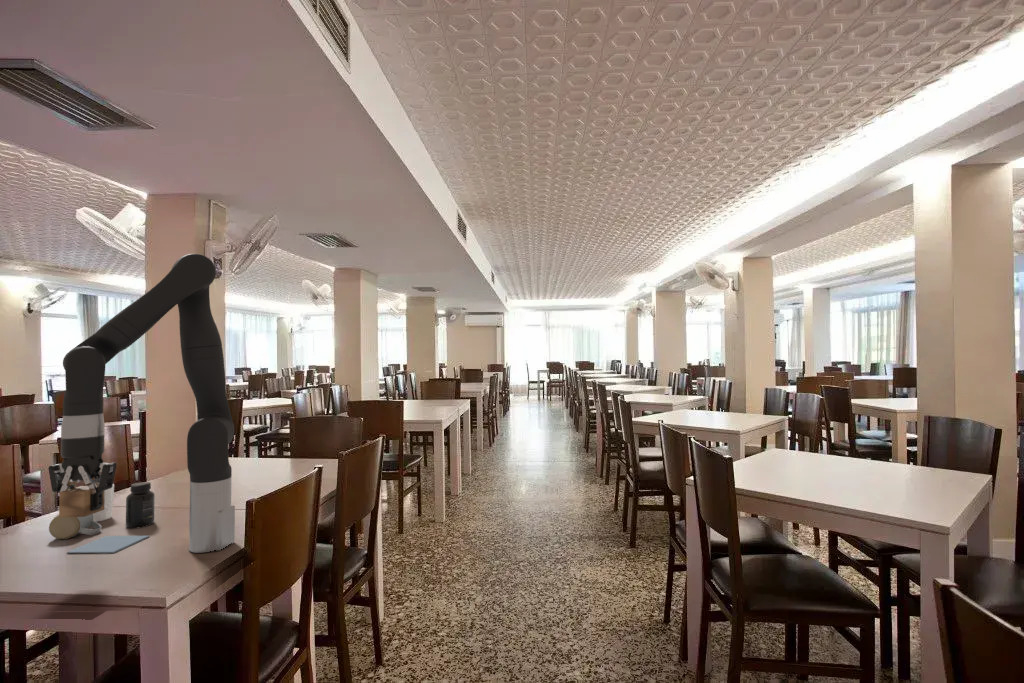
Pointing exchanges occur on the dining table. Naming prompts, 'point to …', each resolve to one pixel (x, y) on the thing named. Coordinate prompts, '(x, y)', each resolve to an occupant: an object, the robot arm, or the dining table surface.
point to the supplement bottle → (140, 505)
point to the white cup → (105, 506)
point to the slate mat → (108, 544)
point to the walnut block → (76, 502)
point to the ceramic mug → (73, 526)
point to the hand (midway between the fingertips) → (82, 509)
